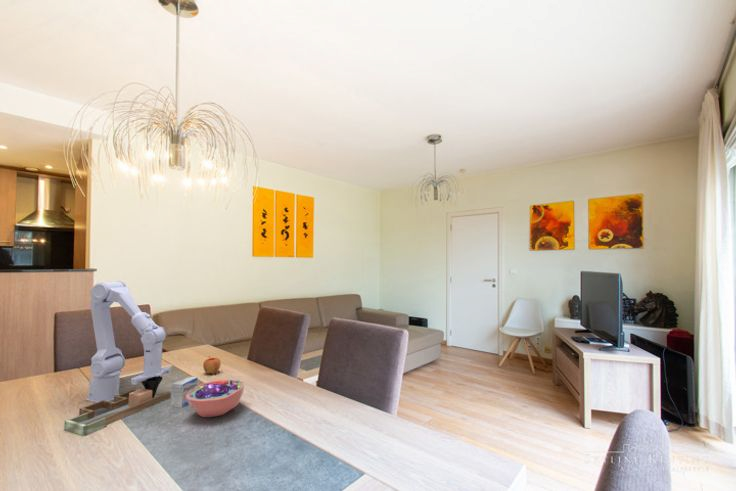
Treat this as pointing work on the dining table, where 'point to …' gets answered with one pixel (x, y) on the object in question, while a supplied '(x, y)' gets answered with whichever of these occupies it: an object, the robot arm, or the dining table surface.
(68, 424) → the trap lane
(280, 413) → the dining table surface
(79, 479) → the dining table surface
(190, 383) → the medicine box
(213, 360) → the apple
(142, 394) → the block
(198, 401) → the cell model
